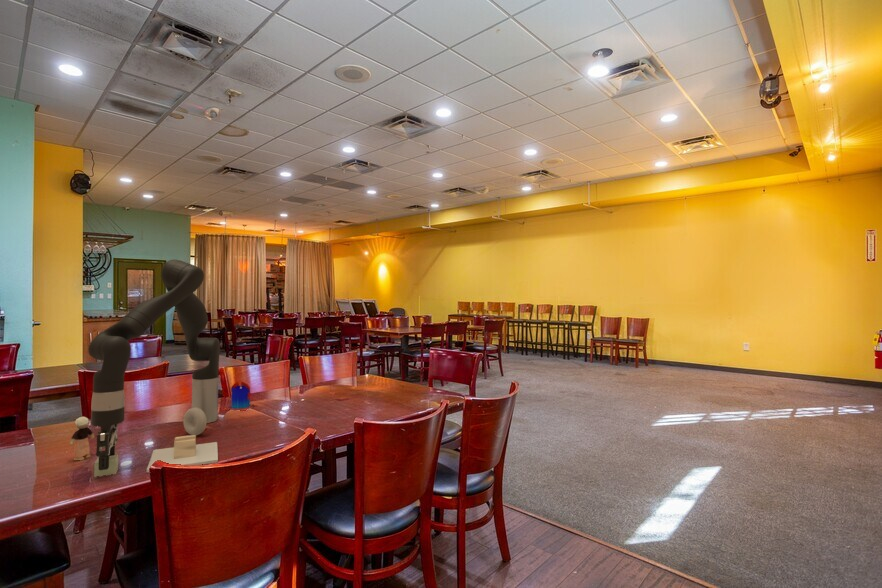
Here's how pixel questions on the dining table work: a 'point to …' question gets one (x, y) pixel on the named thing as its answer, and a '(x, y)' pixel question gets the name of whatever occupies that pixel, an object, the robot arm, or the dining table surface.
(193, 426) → the donut
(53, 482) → the dining table surface
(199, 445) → the base plate
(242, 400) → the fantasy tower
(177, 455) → the birch block
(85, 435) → the grandmother figurine
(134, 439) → the dining table surface
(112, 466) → the sage block
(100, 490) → the dining table surface
